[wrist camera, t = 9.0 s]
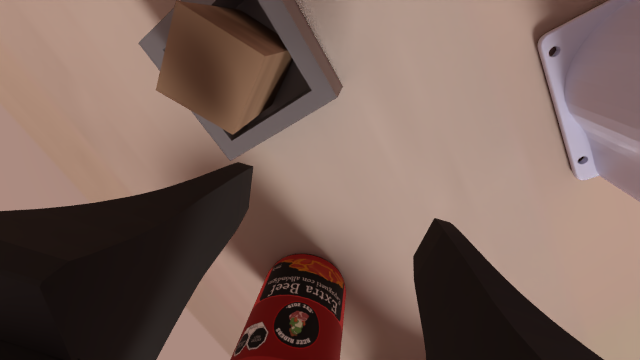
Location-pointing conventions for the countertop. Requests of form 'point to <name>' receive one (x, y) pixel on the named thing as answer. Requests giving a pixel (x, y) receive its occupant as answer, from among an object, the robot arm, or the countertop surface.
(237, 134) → the well
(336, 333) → the canned food
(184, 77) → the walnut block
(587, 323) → the countertop surface
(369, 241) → the countertop surface
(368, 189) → the countertop surface
